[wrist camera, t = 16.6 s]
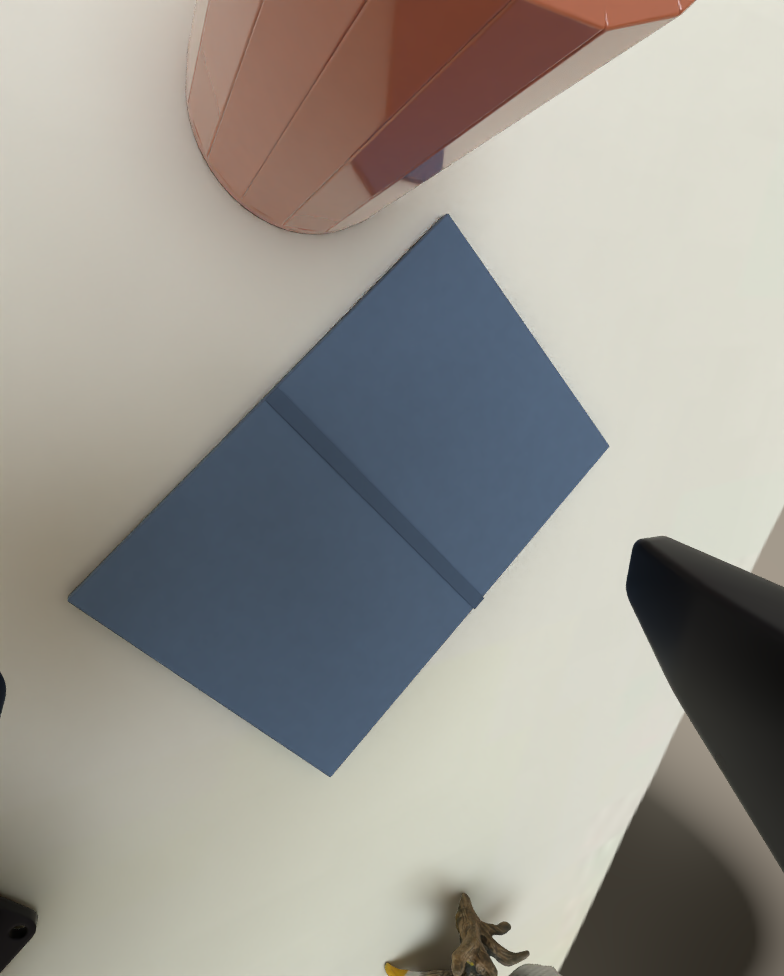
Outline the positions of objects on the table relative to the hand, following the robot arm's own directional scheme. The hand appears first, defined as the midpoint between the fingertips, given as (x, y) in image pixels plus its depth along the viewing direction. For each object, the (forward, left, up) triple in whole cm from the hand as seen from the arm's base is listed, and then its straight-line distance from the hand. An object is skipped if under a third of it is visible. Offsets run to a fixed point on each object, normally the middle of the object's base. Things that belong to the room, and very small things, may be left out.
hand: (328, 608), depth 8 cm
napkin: (+3, -5, -12) cm, 14 cm away
